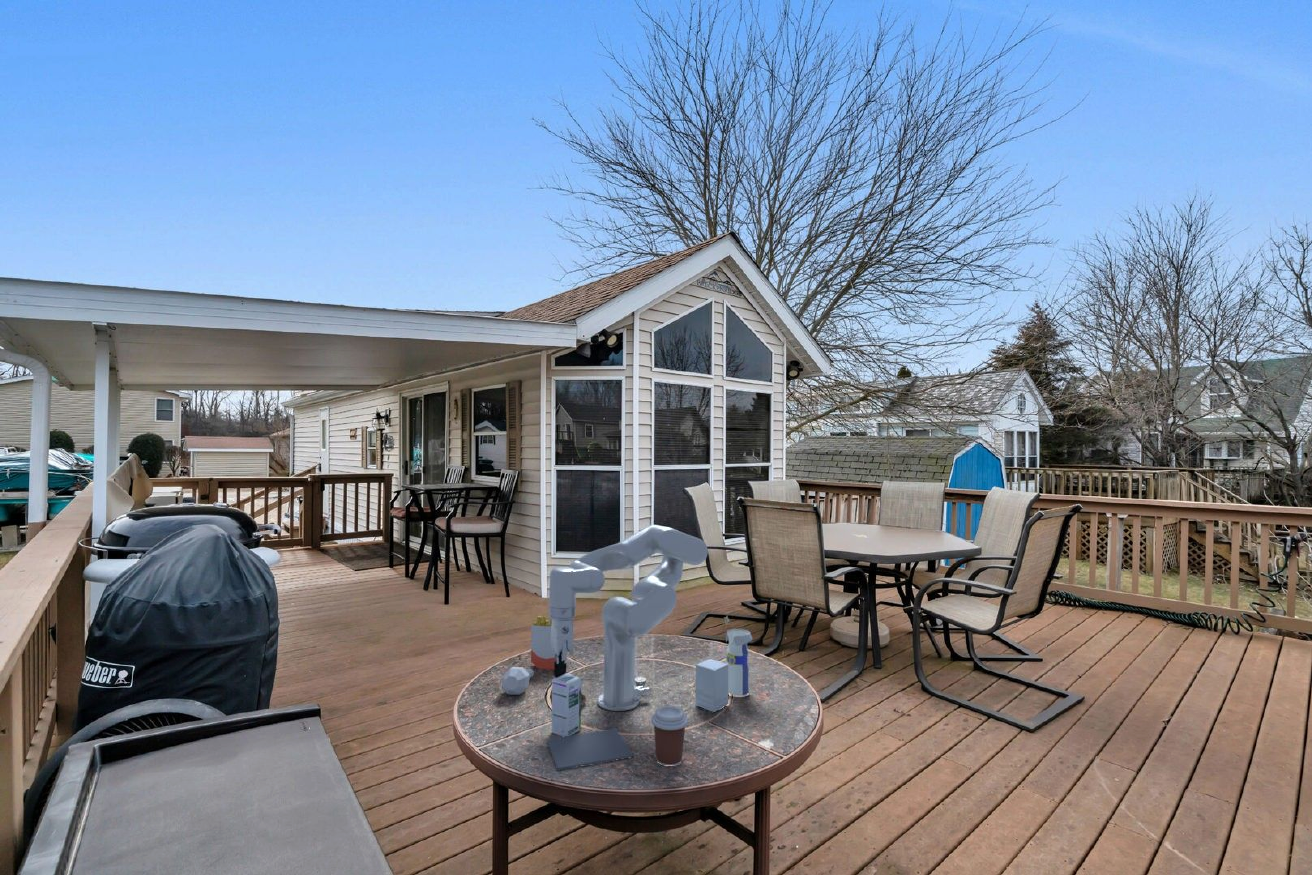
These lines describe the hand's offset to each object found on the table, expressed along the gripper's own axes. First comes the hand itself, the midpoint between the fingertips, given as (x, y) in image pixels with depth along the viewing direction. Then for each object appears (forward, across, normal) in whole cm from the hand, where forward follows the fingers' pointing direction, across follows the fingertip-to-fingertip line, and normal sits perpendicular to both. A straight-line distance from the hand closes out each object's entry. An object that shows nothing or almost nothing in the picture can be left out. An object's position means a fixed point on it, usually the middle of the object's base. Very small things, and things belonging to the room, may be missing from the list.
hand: (559, 676), depth 170 cm
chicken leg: (+12, +26, +7) cm, 29 cm away
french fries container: (+12, +41, -4) cm, 43 cm away
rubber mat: (+12, -19, -4) cm, 23 cm away
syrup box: (+12, -8, 0) cm, 15 cm away
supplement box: (+12, -6, -46) cm, 47 cm away
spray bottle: (+12, 0, -58) cm, 59 cm away
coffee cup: (+12, -31, -22) cm, 40 cm away
